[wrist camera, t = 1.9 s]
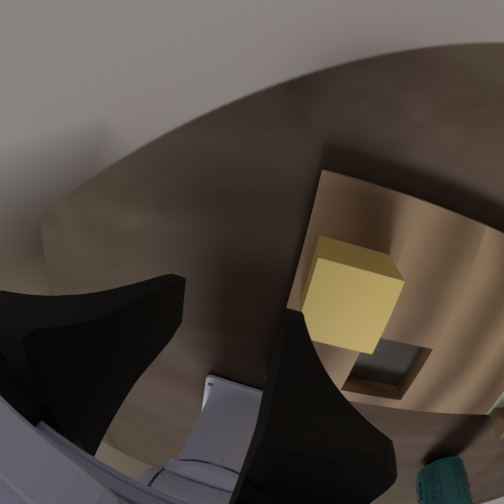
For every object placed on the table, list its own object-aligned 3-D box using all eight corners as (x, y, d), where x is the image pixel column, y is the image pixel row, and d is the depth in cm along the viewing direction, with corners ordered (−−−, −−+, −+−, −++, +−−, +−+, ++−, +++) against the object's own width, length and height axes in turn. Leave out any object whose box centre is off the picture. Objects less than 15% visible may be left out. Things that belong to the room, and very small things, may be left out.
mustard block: (300, 300, 19) (293, 335, 15) (319, 235, 17) (318, 257, 13) (365, 317, 18) (371, 354, 14) (389, 254, 16) (404, 281, 13)
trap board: (268, 365, 23) (253, 412, 18) (322, 168, 18) (322, 173, 13) (516, 402, 19) (531, 434, 14) (585, 276, 13) (615, 299, 8)
